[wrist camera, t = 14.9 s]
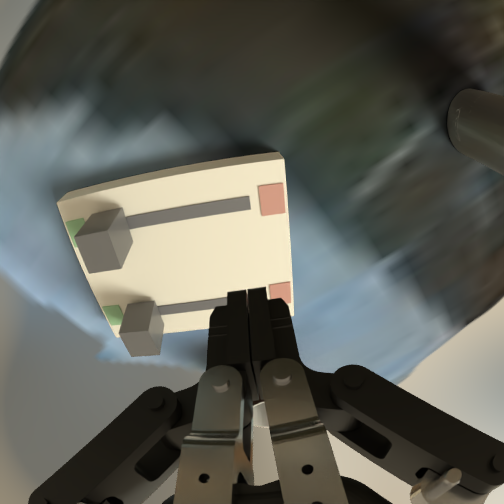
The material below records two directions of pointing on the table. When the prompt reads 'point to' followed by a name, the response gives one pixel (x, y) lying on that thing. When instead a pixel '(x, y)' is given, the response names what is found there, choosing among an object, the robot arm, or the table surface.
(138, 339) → the slider
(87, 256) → the slider
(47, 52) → the table surface
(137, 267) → the switch panel
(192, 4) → the table surface
